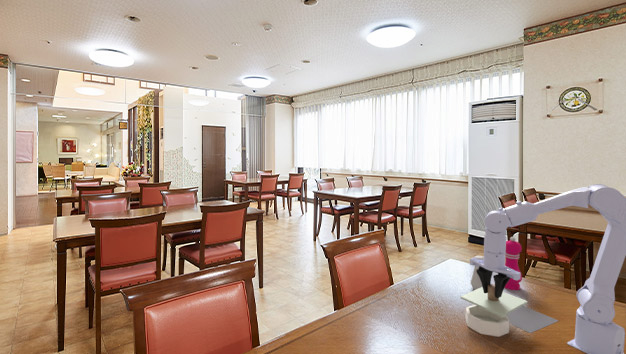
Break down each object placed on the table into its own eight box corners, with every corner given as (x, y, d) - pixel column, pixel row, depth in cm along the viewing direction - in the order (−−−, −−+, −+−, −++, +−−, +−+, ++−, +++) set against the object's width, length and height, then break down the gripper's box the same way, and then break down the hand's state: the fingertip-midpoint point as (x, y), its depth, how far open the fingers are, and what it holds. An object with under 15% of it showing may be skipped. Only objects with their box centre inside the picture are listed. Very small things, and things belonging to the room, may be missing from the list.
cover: (527, 303, 96) (527, 288, 96) (501, 316, 90) (502, 301, 89) (485, 286, 108) (485, 273, 107) (460, 298, 101) (460, 284, 101)
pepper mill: (502, 290, 123) (504, 238, 122) (497, 282, 130) (499, 233, 129) (524, 292, 121) (526, 240, 120) (518, 284, 128) (520, 235, 126)
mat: (558, 321, 101) (559, 320, 101) (530, 334, 94) (530, 333, 94) (511, 301, 114) (511, 300, 114) (482, 311, 107) (483, 310, 107)
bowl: (515, 330, 96) (516, 317, 95) (491, 340, 91) (492, 326, 90) (481, 313, 106) (482, 302, 105) (458, 321, 101) (458, 309, 100)
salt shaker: (489, 293, 120) (491, 259, 119) (472, 292, 121) (474, 258, 120) (484, 287, 126) (485, 254, 125) (468, 286, 127) (469, 253, 126)
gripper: (527, 255, 93) (524, 301, 94) (480, 243, 105) (478, 283, 107) (513, 259, 89) (511, 307, 90) (466, 246, 102) (464, 287, 103)
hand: (492, 294), depth 98 cm, fingers closed on cover, 3 cm apart
